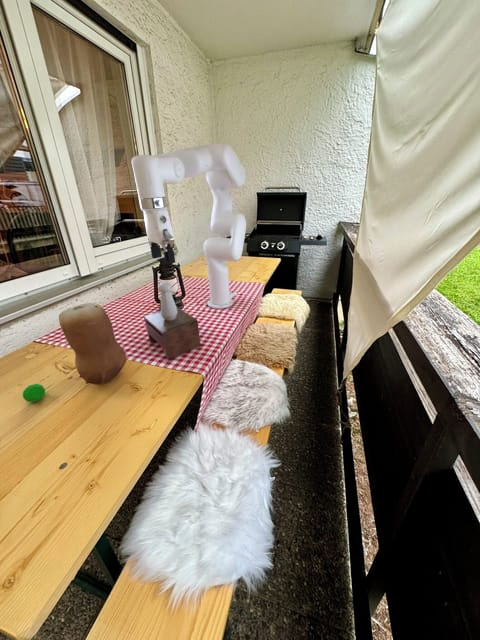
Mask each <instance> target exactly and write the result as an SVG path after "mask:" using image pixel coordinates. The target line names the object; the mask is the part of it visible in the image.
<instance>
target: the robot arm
mask: <svg viewBox="0 0 480 640" xmlns="http://www.w3.org/2000/svg"><path fill="white" fill-rule="evenodd" d="M131 166H132V167H131V168H132V172H133V176H134V181H135V185H136V191H137V194H138V195H137V196H138V201H139V206H140V210H141V211H142V212H143V220H144V226H145V233H146V235H147V240H148V245H149V248H150V253H151V257H152V259H158V258H162V257H164V262H165V263H164V264H165V265H171V264H175V263H176V257H175V248H174V247H175V236H174V231H173V226H172V222H171V218H170V214H169V211H168V205H167V200H166V192H165V187H164V185H175V184H178V183H180V182H182V180H183V179H185V178H193V177H197V176H200V175H203V174H205V180H206V183H207V185H208V187H209V190H210V191H211V192H210V193H211V195H212V200H213V202H212V203H213V204H212V210H211V216H210V217H211V218H210V225H209V226H210V231H211V233H212V234H214V235H217V237H215V236H214V237H209V238H207V239H205V241H204V242H203V247H202V249H203V254H204V257H205V261H206V267H207V276H208V277H207V278H208V287H209V288H208V289H209V299H208V300H207V301H206V302H207V303H206V304H207V306H208V307H209V308H212V309H216V310H217V309H219V310H220V309H227V308H230V307H231V306H232V305H233V304H234V299H233V297H237V296H238V292H237V291H234V292H232V291H230V277H229V274H230V273H229V267H228V264H227V262H238V261H240V259H241V258H242V256H243V251H244V250H243V249H244V244H245V237H246V232H247V220H246V217H245V215H243V213H241V212H233V206H234V202H233V198H232V197H231V194H230V193H229V191H228V190H227V189H239V188H242V187H243V186H244V185H245V184H246V178H247V174H246V170H245V168H244V165H243V164H242V162H241V160H240V158H239V156H238V155H237V153H236V151H235V150H234V148H233V147H232V146H231V145H230V144H228V143H227V142H217V143H206V144H201V145H196V146H191V147H187V148H181V149H177V150H173V151H169V152H163V153H159V154H153V155H152V154H139V155H134V156H132V158H131ZM218 236H226V237H218ZM227 236H229V237H230V238H228V237H227ZM161 246H162V249H163V255H162V250H161Z"/></svg>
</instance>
